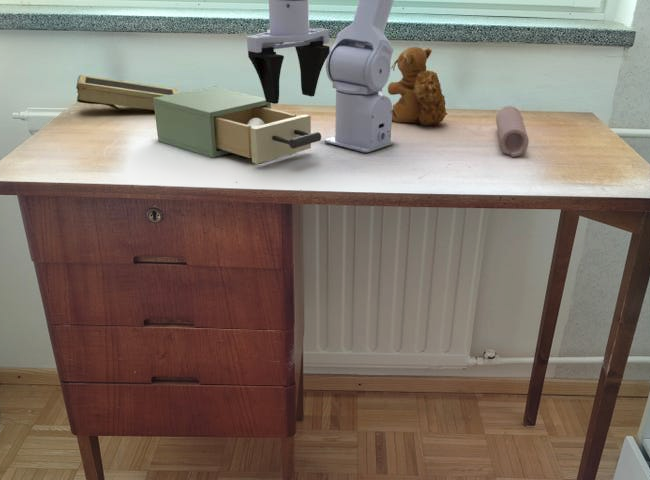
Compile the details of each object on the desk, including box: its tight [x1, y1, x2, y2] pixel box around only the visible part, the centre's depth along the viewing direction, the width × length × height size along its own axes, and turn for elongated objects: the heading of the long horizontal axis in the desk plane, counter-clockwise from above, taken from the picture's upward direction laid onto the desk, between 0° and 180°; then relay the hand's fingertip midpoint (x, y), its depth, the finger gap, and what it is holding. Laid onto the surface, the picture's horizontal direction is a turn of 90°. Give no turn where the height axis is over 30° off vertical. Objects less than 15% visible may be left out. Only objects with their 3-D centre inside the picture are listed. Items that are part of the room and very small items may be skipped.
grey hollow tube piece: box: [495, 105, 529, 158], centre depth 123 cm, size 5×5×18 cm
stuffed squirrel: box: [387, 46, 449, 127], centre depth 132 cm, size 10×14×13 cm
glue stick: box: [247, 118, 265, 128], centre depth 112 cm, size 8×3×3 cm
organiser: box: [153, 86, 272, 159], centre depth 117 cm, size 14×14×7 cm
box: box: [75, 74, 180, 112], centre depth 135 cm, size 8×22×5 cm, turn 107°
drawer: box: [214, 106, 322, 165], centre depth 111 cm, size 18×12×5 cm
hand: (290, 98), depth 105 cm, fingers open, 7 cm apart
